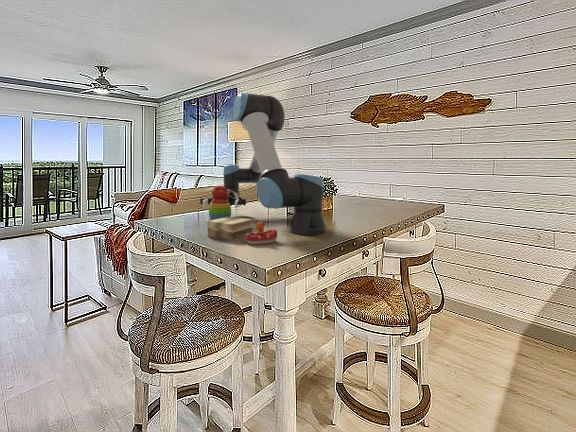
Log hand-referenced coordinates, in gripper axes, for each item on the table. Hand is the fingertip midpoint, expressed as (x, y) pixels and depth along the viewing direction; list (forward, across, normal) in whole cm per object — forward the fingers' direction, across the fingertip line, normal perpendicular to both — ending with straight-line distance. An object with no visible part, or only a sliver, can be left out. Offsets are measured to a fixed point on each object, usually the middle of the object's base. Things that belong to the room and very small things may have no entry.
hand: (219, 204), depth 152 cm
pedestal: (+15, -7, -10) cm, 20 cm away
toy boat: (+25, -20, -10) cm, 33 cm away
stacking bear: (-1, 0, -10) cm, 10 cm away
